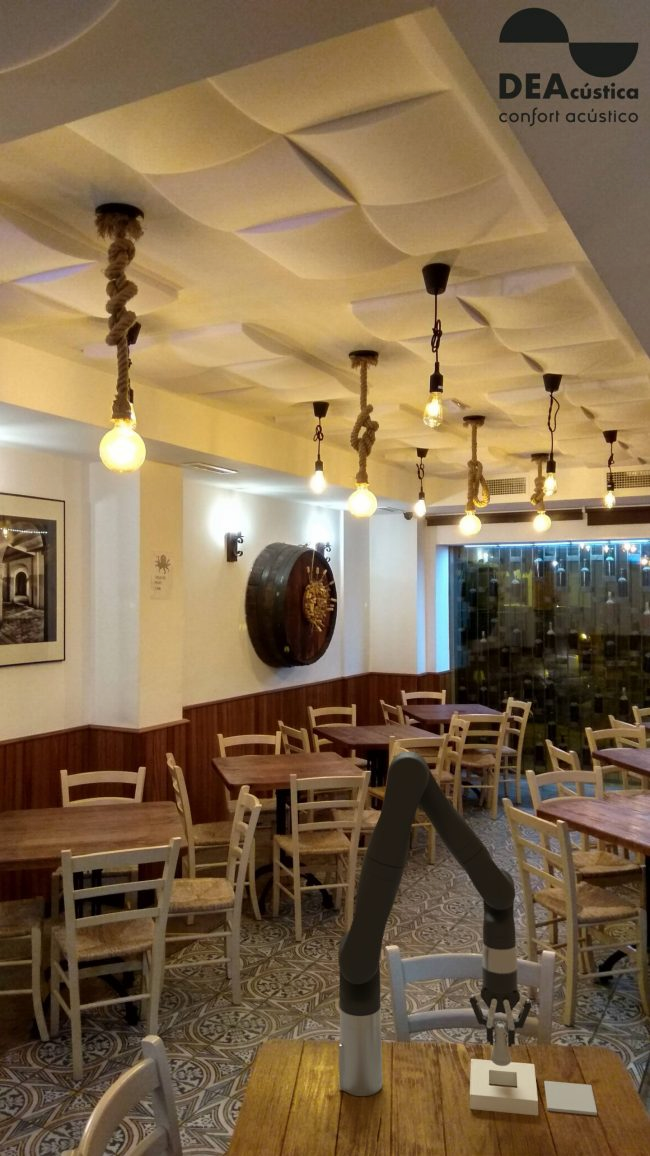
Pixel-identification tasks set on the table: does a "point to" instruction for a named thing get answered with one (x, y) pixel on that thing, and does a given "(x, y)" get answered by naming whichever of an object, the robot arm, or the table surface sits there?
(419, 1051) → the table surface
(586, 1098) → the grey mat
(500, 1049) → the rook chess piece
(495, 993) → the robot arm
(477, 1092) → the pocket holder
